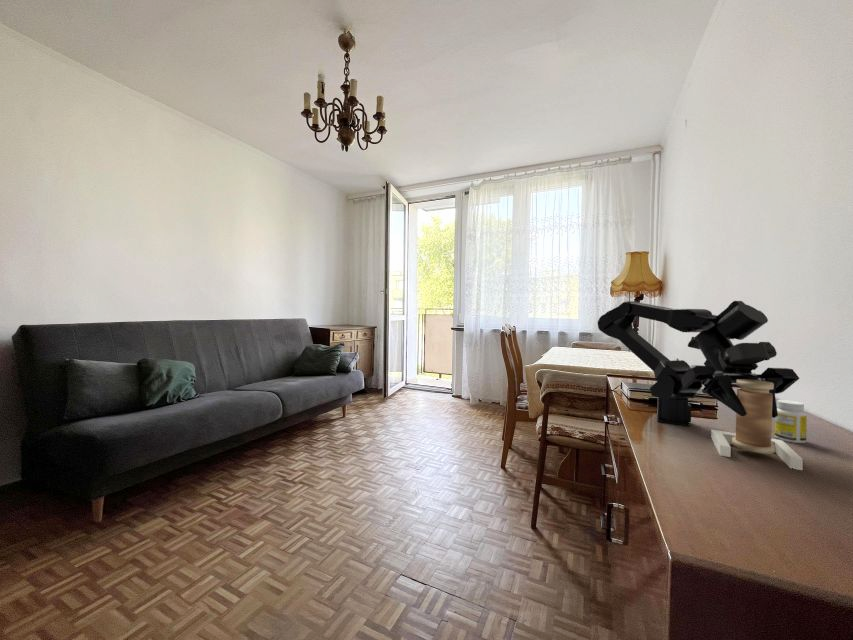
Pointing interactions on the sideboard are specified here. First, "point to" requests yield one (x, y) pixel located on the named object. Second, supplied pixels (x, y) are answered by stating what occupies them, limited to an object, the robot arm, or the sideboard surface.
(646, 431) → the sideboard surface
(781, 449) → the white u-shaped piece
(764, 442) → the bobbin
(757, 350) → the robot arm
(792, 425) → the supplement bottle
